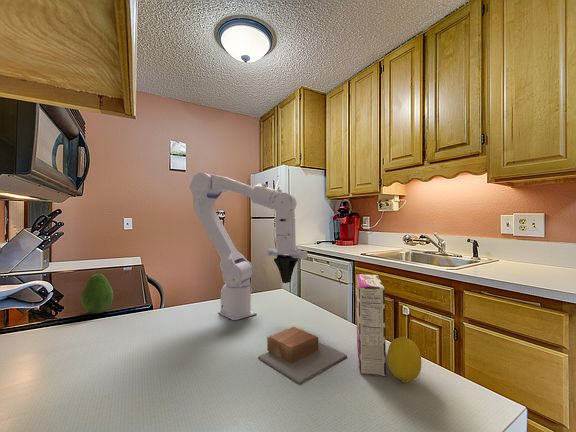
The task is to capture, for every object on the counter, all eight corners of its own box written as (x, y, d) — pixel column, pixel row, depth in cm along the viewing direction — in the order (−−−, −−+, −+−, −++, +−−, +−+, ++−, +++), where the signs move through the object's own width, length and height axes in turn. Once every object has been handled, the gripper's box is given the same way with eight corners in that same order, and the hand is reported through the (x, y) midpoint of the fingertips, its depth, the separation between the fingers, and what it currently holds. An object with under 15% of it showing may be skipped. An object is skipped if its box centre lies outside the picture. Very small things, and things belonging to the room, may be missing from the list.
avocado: (98, 308, 89) (98, 270, 89) (119, 309, 87) (119, 271, 87) (74, 317, 81) (74, 276, 81) (96, 318, 79) (97, 277, 79)
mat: (258, 358, 57) (258, 356, 57) (305, 338, 66) (305, 336, 66) (299, 384, 48) (299, 381, 48) (347, 356, 57) (347, 354, 57)
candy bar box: (355, 347, 62) (355, 273, 62) (379, 349, 61) (378, 274, 61) (358, 375, 51) (357, 285, 51) (386, 378, 50) (386, 286, 50)
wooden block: (267, 336, 59) (291, 348, 54) (294, 326, 65) (318, 336, 59) (267, 350, 59) (291, 363, 54) (294, 339, 65) (318, 350, 59)
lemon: (383, 373, 51) (383, 329, 51) (413, 373, 51) (413, 330, 51) (393, 391, 46) (393, 343, 46) (427, 392, 46) (427, 343, 46)
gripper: (258, 235, 81) (259, 281, 81) (294, 236, 71) (295, 289, 71) (275, 233, 87) (276, 277, 86) (311, 234, 76) (312, 284, 76)
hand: (286, 282), depth 79 cm, fingers closed
